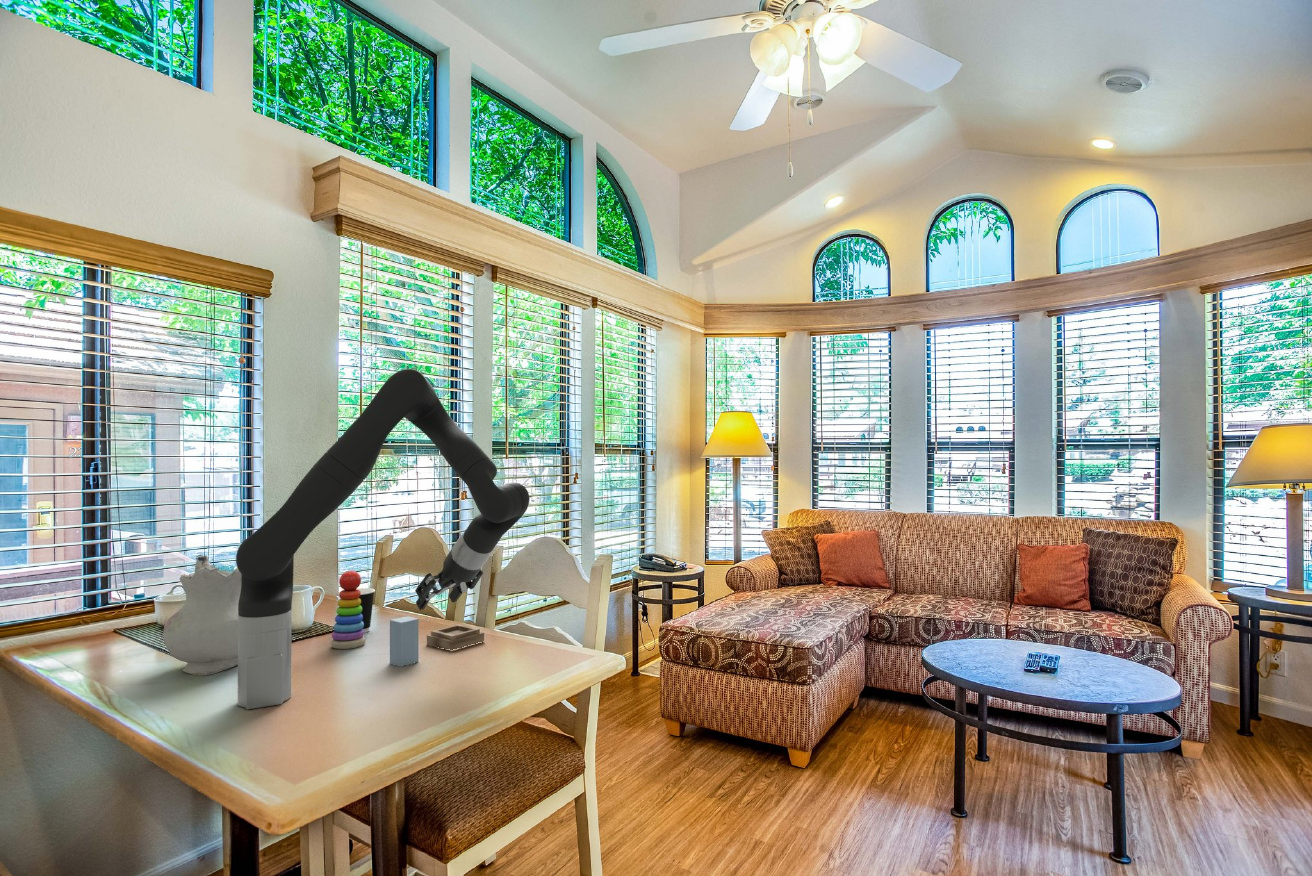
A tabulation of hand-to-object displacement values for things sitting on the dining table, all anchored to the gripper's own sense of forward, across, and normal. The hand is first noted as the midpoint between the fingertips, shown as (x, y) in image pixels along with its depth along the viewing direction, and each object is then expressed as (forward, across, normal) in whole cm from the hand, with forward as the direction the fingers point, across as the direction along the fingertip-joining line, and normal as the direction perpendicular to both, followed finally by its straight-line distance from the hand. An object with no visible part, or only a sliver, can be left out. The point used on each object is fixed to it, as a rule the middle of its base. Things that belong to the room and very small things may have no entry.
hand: (435, 602), depth 154 cm
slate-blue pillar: (+19, 0, +2) cm, 19 cm away
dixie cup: (+44, -10, -22) cm, 50 cm away
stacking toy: (+36, 0, -15) cm, 39 cm away
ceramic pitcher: (+43, +27, -22) cm, 56 cm away
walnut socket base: (+21, -17, 0) cm, 27 cm away
